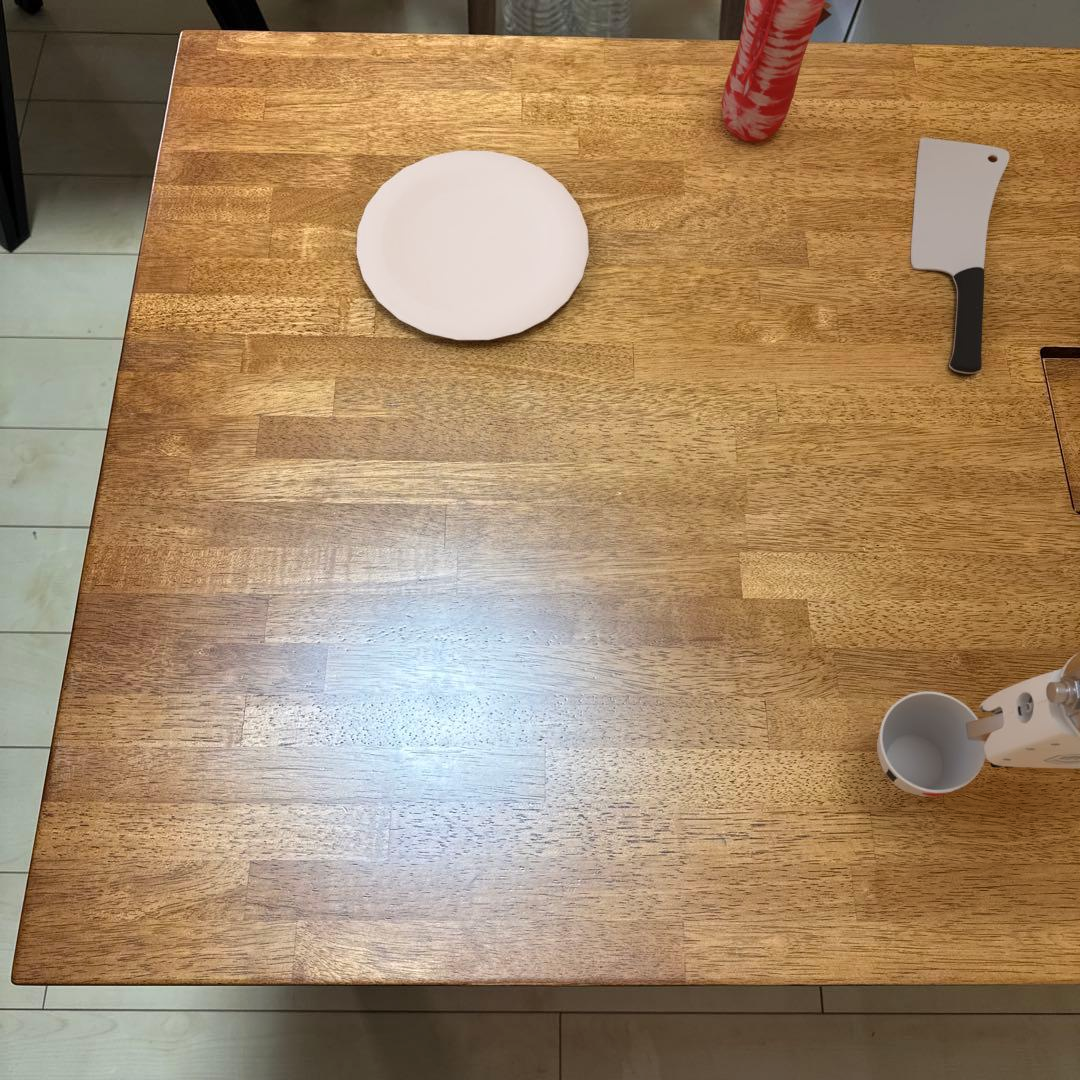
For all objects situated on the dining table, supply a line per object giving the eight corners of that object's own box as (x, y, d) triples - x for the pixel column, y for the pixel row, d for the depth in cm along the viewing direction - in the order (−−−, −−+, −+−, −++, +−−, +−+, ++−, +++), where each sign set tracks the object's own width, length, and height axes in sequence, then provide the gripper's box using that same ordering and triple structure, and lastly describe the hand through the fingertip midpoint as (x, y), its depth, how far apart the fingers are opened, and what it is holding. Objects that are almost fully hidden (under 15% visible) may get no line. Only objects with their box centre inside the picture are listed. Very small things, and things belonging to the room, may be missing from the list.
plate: (369, 361, 105) (367, 352, 103) (347, 171, 114) (345, 160, 113) (607, 333, 107) (608, 324, 106) (567, 148, 116) (568, 137, 115)
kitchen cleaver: (921, 132, 118) (1012, 141, 116) (918, 143, 119) (1007, 152, 118) (896, 358, 106) (996, 372, 105) (892, 367, 108) (990, 381, 106)
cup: (856, 788, 91) (868, 771, 82) (880, 704, 93) (894, 678, 84) (950, 821, 89) (973, 807, 79) (972, 733, 91) (997, 710, 82)
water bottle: (758, 70, 122) (817, -137, 98) (813, 104, 120) (886, -98, 97) (697, 128, 118) (744, -73, 95) (753, 165, 116) (814, -31, 93)
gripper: (1022, 750, 65) (912, 793, 82) (1251, 756, 65) (1095, 797, 82) (1003, 637, 68) (902, 701, 85) (1223, 644, 68) (1078, 706, 85)
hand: (997, 748), depth 84 cm, fingers closed
